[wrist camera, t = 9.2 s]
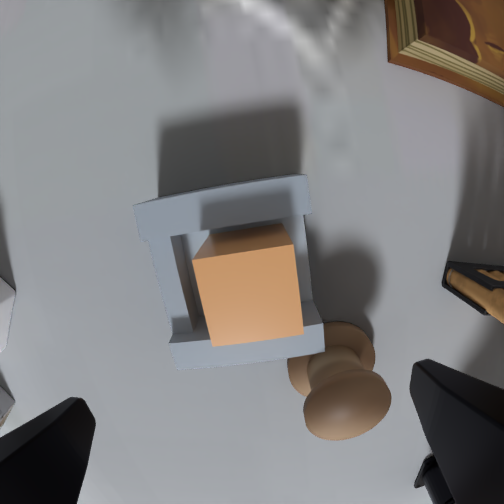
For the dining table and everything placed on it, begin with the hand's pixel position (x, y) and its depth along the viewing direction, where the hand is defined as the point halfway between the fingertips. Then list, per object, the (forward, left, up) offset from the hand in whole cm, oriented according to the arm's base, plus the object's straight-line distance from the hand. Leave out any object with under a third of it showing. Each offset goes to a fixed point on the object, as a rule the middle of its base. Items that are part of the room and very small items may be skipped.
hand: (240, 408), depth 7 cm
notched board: (0, +1, -12) cm, 12 cm away
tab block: (0, 0, -11) cm, 11 cm away
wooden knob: (-8, -4, -12) cm, 15 cm away
